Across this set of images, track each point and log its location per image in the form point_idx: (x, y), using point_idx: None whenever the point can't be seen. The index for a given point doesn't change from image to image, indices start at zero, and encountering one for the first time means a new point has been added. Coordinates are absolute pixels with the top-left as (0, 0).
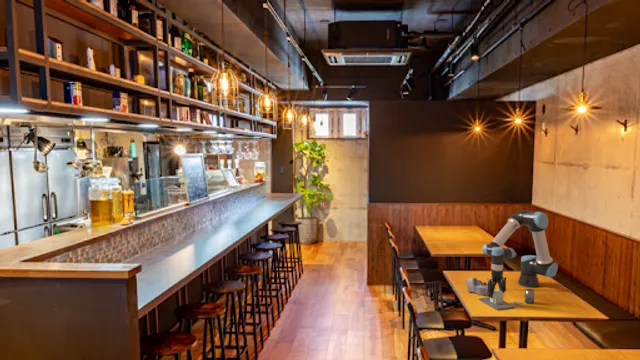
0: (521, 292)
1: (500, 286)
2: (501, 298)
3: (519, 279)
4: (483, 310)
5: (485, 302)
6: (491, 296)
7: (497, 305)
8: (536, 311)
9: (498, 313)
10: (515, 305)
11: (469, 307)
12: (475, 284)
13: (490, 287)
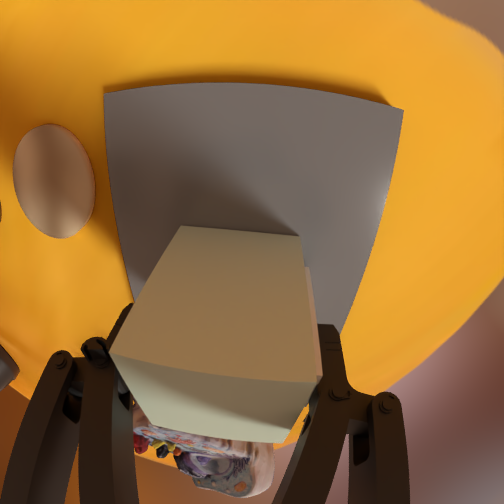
0: (8, 322)
1: (118, 473)
2: (185, 270)
3: (8, 378)
4: (494, 187)
5: (346, 313)
6: (336, 345)
7: (309, 193)
8: (18, 17)
9: (440, 45)
10: (74, 147)
11: (499, 280)
12: (229, 463)
13: (397, 493)
